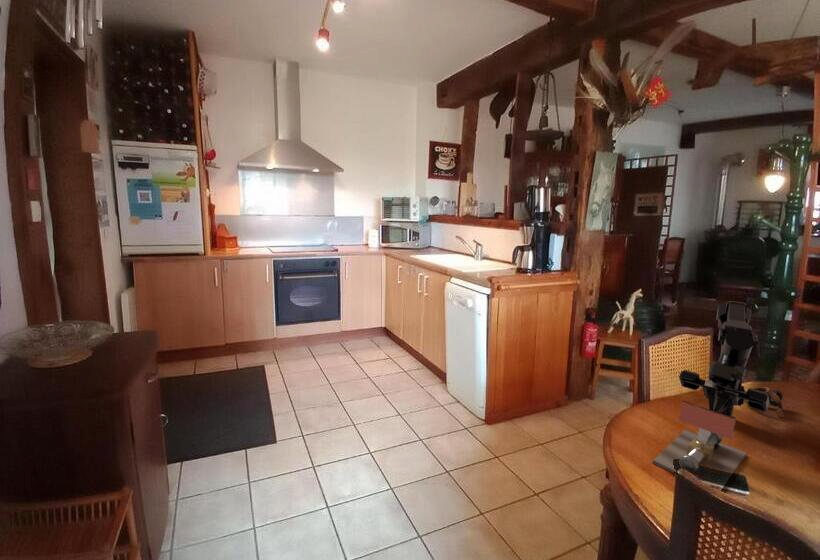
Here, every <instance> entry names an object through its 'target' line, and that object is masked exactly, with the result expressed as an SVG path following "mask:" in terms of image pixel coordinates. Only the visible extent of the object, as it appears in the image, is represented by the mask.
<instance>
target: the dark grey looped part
mask: <svg viewBox="0 0 820 560" xmlns="http://www.w3.org/2000/svg"><path fill="white" fill-rule="evenodd" d="M752 389H755V390H759V391H762V392H766V393H767V394H768V396H769V405H770V406H773V407H774V408H777V410H775V413H776V416H777V418H781V417H783V416H784V415H785V412H784V411H785V410H784V408H783V403H782V400H783V397H784V396H783V392H781V391H780V390H779V389H776V388H775V389H771V388H770V387H768V386H767V387H766V386H760V387H758V386H757V387H754V388H752ZM745 391H746V392H747V391H748V390H745ZM744 403H746V404H748V401H747V400H744Z"/></svg>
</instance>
